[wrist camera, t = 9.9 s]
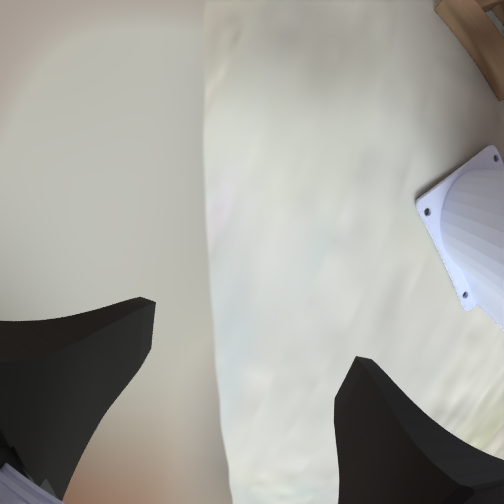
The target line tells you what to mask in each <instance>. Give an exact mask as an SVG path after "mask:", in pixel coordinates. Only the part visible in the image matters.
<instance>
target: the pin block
mask: <svg viewBox="0 0 504 504" xmlns="http://www.w3.org/2000/svg"><path fill="white" fill-rule="evenodd" d="M434 10H435V11H436V13H437V14H438V15H439V16H440V17H441V18H442V20H443V21H444V22H445V23H446V24H447V26H448V27H449V28H450V29H451V31H452V32H453V33H454V34H455V36H456V37H457V38H458V39H459V41H460V42H461V43H462V45H463V46H464V47H465V49H466V50H467V52H468V53H469V54H470V56H471V57H472V59H473V60H474V62H475V63H476V65H477V66H478V68H479V69H480V71H481V72H482V74H483V75H484V77H485V78H486V80H487V82H488V83H489V85H490V87H491V88H492V90H493V92H494V93H495V95H496V97H497V98H498V100H499V101H501V100H504V38H503V36H502V35H501V33H500V32H499V31H498V29H497V28H496V26H495V25H494V24H493V22H492V21H491V20H490V18H489V17H488V16H487V15H486V13H485V12H487V11H489V10H492V11H493V12H494V14H495V15H496V16H497V18H498V19H499V20H500V22H501V23H502V24H503V26H504V0H442V1H441V2H440V3H439V5H438V6H437V7H436V8H435V9H434Z"/></svg>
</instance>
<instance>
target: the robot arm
mask: <svg viewBox="0 0 504 504" xmlns="http://www.w3.org/2000/svg"><path fill="white" fill-rule="evenodd" d="M494 155H495V157H496V161H494ZM415 206H416V209H417V211H418V213H419V215H420V217H421V218H422V220H423V222H424V224H425V226H426V228H427V230H428V232H429V234H430V236H431V238H432V240H433V242H434V244H435V246H436V248H437V250H438V252H439V254H440V256H441V258H442V260H443V263H444V265H445V267H446V269H447V271H448V274H449V276H450V278H451V281H452V283H453V285H454V288H455V290H456V292H457V295H458V297H459V300H460V302H461V305H462V307H463V309H464V310H465V311H470V310H471V309H473V308H474V307H475V306H476V305H477V306H478V307H479V308H480V309H481V310H482V311H483V312H485V313H486V314H487V315H488V316H489V317H490V318H491V319H492V320H493V321H494V322H495V323H496V324H497V325H498V326H499V327H500V328H501V329H502V330H503V331H504V163H503V161H502V159H501V156H500V154H499V152H498V150H497V148H496V147H495V146H494V145H488V146H487V147H485V148H484V149H483V150H482V151H480V152H479V153H478V154H477V155H475V156H474V157H473V158H471V159H470V160H469V161H468V162H466V163H465V164H464V165H462V166H461V167H460V168H458V169H457V170H456V171H454V172H453V173H452V174H450V175H449V176H448V177H446V178H445V179H444V180H442V181H441V182H440V183H438V184H437V185H436V186H434V187H433V188H432V189H430V190H429V191H428V192H426V193H425V194H423V195H422V196H421V197H419V198H418V199H417V200H416V203H415ZM426 208H428V209H429V213H428V214H427V215H425V214H424V210H425V209H426ZM464 292H466V294H465V296H463V293H464ZM155 305H156V302H154V301H151V300H148V299H145V298H143V297H138V298H133V299H129V300H126V301H123V302H119V303H116V304H113V305H110V306H106V307H103V308H100V309H96V310H92V311H88V312H84V313H80V314H76V315H72V316H67V317H61V318H55V319H47V320H36V321H0V504H65V503H64V502H62V500H63V497H64V494H65V492H66V489H67V487H68V484H69V482H70V480H71V477H72V475H73V473H74V471H75V468H76V466H77V464H78V462H79V460H80V458H81V455H82V454H83V452H84V450H85V448H86V446H87V444H88V442H89V440H90V438H91V437H92V435H93V433H94V431H95V430H96V428H97V426H98V424H99V423H100V421H101V419H102V418H103V416H104V415H105V413H106V412H107V410H108V409H109V407H110V406H111V405H112V404H113V402H114V401H115V400H116V399H117V397H118V396H119V395H120V394H121V392H122V391H123V390H124V388H125V387H126V386H127V385H128V383H129V382H130V381H131V379H132V378H133V377H134V376H135V374H136V373H137V372H138V370H139V369H140V367H141V366H142V364H143V362H144V361H145V359H146V357H147V355H148V353H149V351H150V350H151V345H152V334H153V323H154V314H155ZM334 427H335V437H336V446H337V455H338V465H339V500H338V504H504V460H502V459H500V458H497V457H494V456H491V455H489V454H487V453H485V452H483V451H481V450H479V449H476V448H474V447H473V446H471V445H469V444H467V443H465V442H464V441H462V440H461V439H459V438H457V437H456V436H454V435H453V434H451V433H450V432H448V431H447V430H445V429H444V428H443V427H441V426H440V425H439V424H438V423H436V422H435V421H434V420H433V419H431V418H430V417H429V416H428V415H427V414H425V413H424V412H423V411H422V410H421V409H420V408H419V407H418V406H417V405H416V404H415V403H414V402H413V401H412V400H411V399H410V398H409V397H408V396H407V395H406V394H405V393H404V392H403V391H402V390H401V389H400V388H399V387H398V386H397V385H396V384H395V383H394V382H393V381H392V379H391V378H390V377H389V376H388V375H387V374H386V373H385V372H384V371H383V370H382V369H381V368H380V367H379V366H378V365H377V364H376V363H375V362H374V361H373V360H372V359H368V358H363V357H358V356H356V357H355V359H354V361H353V363H352V365H351V367H350V369H349V371H348V373H347V375H346V377H345V379H344V381H343V383H342V385H341V387H340V389H339V391H338V393H337V395H336V397H335V402H334Z"/></svg>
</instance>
